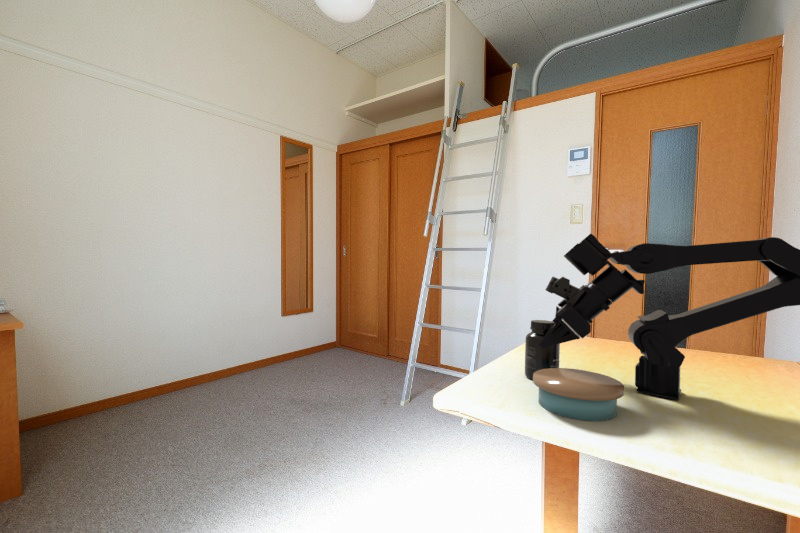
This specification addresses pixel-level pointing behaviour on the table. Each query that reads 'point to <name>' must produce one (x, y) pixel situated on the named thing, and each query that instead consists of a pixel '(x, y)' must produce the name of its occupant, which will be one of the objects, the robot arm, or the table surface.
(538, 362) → the supplement bottle
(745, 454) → the table surface
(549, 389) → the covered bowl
